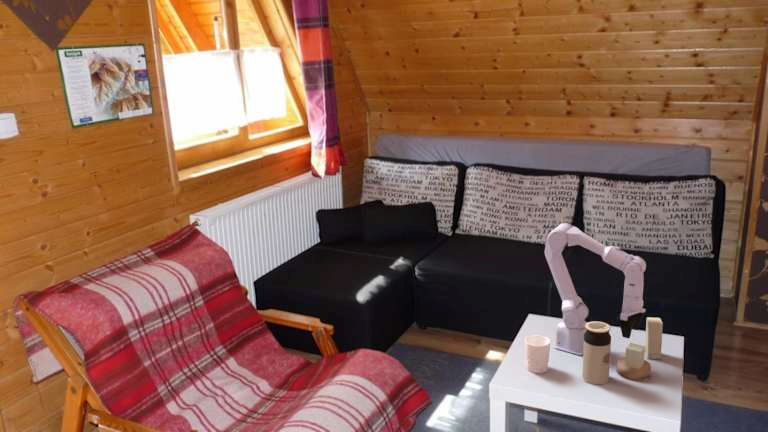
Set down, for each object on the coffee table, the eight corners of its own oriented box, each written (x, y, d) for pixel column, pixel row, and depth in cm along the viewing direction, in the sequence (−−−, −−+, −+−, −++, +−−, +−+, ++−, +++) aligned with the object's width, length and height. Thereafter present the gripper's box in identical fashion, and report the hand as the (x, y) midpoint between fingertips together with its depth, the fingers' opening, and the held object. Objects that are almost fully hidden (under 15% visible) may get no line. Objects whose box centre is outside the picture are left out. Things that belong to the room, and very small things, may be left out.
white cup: (552, 365, 211) (552, 337, 208) (545, 376, 204) (546, 348, 201) (528, 360, 214) (529, 333, 212) (521, 371, 208) (522, 343, 205)
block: (624, 365, 203) (625, 348, 201) (629, 359, 206) (630, 342, 204) (639, 369, 200) (640, 351, 198) (643, 363, 203) (645, 346, 202)
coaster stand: (612, 374, 203) (612, 366, 202) (623, 362, 211) (624, 354, 210) (644, 384, 197) (644, 375, 196) (654, 370, 204) (655, 362, 204)
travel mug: (576, 376, 203) (578, 324, 199) (596, 370, 206) (598, 318, 202) (594, 387, 196) (597, 333, 192) (614, 381, 199) (617, 328, 195)
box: (661, 359, 211) (663, 323, 208) (646, 358, 212) (649, 323, 209) (657, 352, 216) (660, 317, 213) (643, 351, 217) (646, 316, 214)
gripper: (637, 304, 198) (634, 344, 201) (653, 290, 208) (650, 328, 212) (614, 299, 202) (612, 338, 206) (632, 285, 213) (629, 323, 216)
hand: (630, 333), depth 209 cm, fingers open, 7 cm apart
